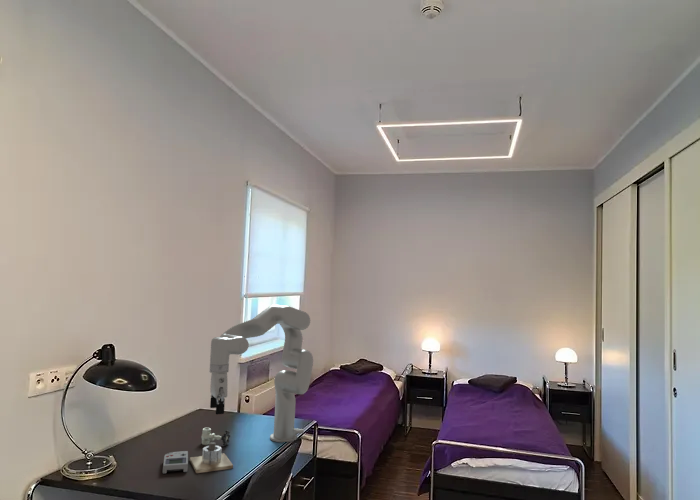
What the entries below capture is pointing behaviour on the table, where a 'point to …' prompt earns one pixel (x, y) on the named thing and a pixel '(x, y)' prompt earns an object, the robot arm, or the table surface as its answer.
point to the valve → (214, 437)
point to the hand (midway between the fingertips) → (216, 410)
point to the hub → (211, 455)
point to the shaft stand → (202, 467)
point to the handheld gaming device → (175, 461)
